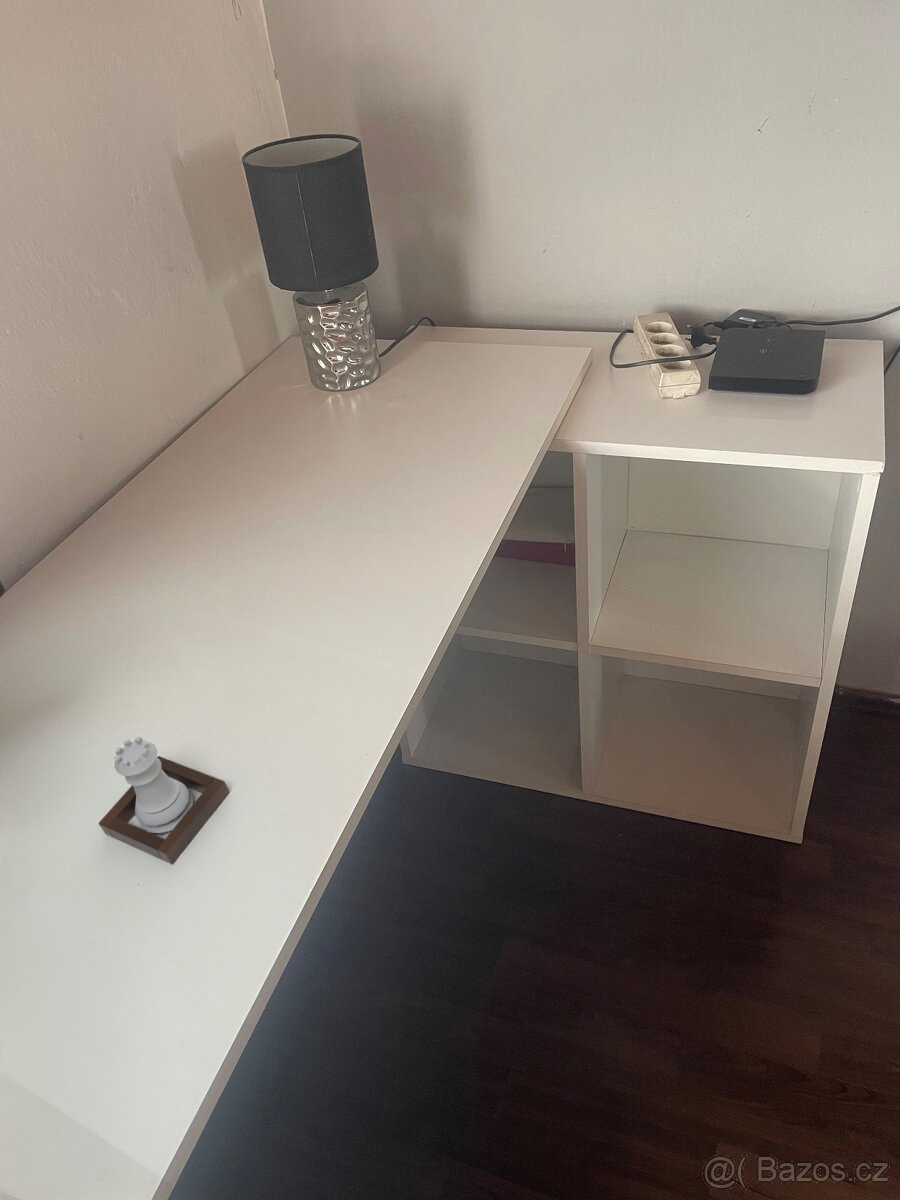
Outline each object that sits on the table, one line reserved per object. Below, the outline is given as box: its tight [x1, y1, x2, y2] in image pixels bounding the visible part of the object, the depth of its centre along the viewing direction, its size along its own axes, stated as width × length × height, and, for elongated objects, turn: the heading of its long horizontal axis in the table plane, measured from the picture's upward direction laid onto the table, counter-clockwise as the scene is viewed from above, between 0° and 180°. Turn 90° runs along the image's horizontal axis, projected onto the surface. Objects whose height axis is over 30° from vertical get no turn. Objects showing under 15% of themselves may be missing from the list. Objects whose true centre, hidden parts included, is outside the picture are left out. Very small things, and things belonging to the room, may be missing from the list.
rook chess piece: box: [113, 736, 194, 834], centre depth 67 cm, size 4×4×8 cm
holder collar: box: [98, 755, 230, 865], centre depth 69 cm, size 7×7×2 cm
